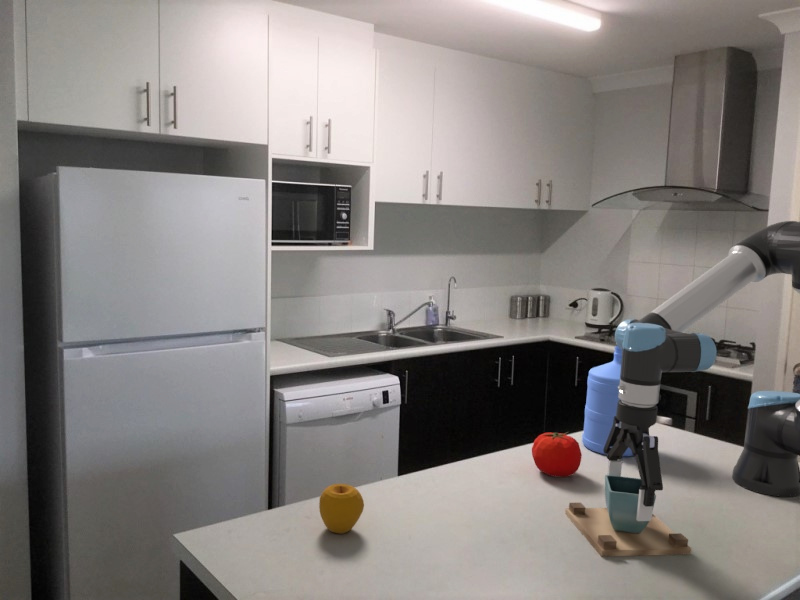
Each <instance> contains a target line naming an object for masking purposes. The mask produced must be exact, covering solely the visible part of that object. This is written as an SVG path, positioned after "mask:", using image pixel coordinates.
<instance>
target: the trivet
mask: <svg viewBox="0 0 800 600" xmlns="http://www.w3.org/2000/svg"><path fill="white" fill-rule="evenodd" d="M565 515H566V517H567V518H568V519H569V520H570V521H571V522H572V523H573V525H574V526H575V527H576V528H577V530H578V531H579V532H580V533H581V534H582V536H584V538H585V539H586V540H587V542H588V543H589V544H590V545H591V546H592V547H593V548H594V550H595V551H596V552H597V553H598V554H599V556H600V557H601V558H602V557H630V556H631V557H632V556H634V557H635V556H665V555H667V556H670V555H671V556H672V555H675V556H676V555H691V553H692V547H691V546H690V545H689V538H687V537H686V536H685V535H683V533H680V532H679V533H675V532H674V531H673V530H671V529H670V528H669V526H667V525H666V524H665V523H664V522H662V520H661V519H659V518H658V517H657V516H656V515H655V514H653V513H652V521H649V523H648V525H647V526H646V527H645V529H644V530H643V531H642V532H641V533H632V532H624V531H616V530H614V529H613V527H612V525H611V522H610V518H609V514H608V510H607V507H585V505H583V503H582V502H569V504H568V508H565Z"/></svg>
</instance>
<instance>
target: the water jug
mask: <svg viewBox="0 0 800 600" xmlns="http://www.w3.org/2000/svg"><path fill="white" fill-rule="evenodd" d="M621 361H622V350H621V349H620V348H619V347H618V346H617V345H616V346H614V352H613V360H612V361H610V362H607V363H604V364H601V365H597V366H593V367H592V368H590V370H589V371H588V376H587V382H586V384H587V390H586V401H585V402H586V403H585V405H584V407H585V408H584V422H583V433H582V436H581V437H582V438H581V442H582V444H583V446H585V448H587V449H588V450H590V451H592V452H595V453H598V454H601V455H606V456H607V453H604V451H603V450H604V446H605V444H606V441H607V439H608V436H609V434H610V431H611V428H612V426H613V420H614V416H616V413H617V402H618V401H619V400H620V399H619V397H618V395H619V390H618V386H619V385H620V373H621ZM610 448H612V447H610ZM632 456H633V457H634V455H633V454H632V451H631V449H630V448H629V447H628V449H627V450H626V451H625V453H624V454H623V455H622V457H623V458H624V457H632Z"/></svg>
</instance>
